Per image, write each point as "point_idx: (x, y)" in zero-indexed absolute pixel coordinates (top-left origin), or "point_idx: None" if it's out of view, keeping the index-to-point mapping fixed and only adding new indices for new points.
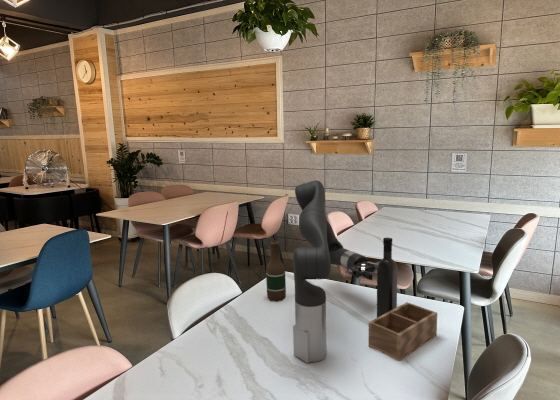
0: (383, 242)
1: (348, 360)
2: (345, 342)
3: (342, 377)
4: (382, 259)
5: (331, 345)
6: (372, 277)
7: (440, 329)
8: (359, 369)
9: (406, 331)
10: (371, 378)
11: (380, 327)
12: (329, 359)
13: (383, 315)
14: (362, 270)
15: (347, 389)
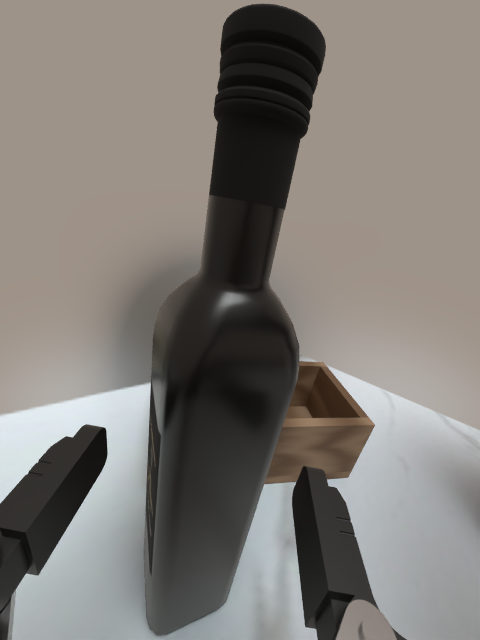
0: (310, 97)
1: (416, 465)
2: (417, 540)
3: (434, 436)
4: (269, 297)
5: (472, 557)
6: (297, 480)
7: (120, 414)
8: (395, 433)
9: (300, 361)
10: (378, 409)
11: (350, 395)
12: (470, 497)
13: (309, 423)
14: (381, 634)
15: (426, 414)
